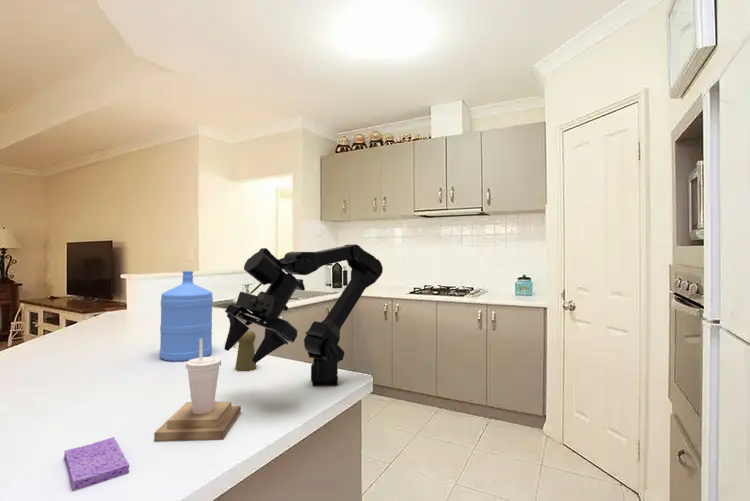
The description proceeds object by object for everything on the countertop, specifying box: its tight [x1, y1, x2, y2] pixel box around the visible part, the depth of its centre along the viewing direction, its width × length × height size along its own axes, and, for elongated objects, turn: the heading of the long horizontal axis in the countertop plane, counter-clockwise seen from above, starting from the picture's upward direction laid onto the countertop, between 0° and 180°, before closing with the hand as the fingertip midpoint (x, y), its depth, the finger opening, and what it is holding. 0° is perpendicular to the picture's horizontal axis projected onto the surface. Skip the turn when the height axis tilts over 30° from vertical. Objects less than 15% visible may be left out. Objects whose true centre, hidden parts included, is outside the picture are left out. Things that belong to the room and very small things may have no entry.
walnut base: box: [153, 400, 242, 442], centre depth 76 cm, size 12×12×3 cm
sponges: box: [63, 436, 130, 492], centre depth 62 cm, size 7×13×2 cm, turn 43°
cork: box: [234, 330, 257, 372], centre depth 115 cm, size 6×6×11 cm
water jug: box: [159, 270, 214, 362], centre depth 129 cm, size 16×16×28 cm
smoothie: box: [185, 339, 222, 414], centre depth 76 cm, size 6×6×14 cm
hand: (239, 355), depth 85 cm, fingers open, 9 cm apart
